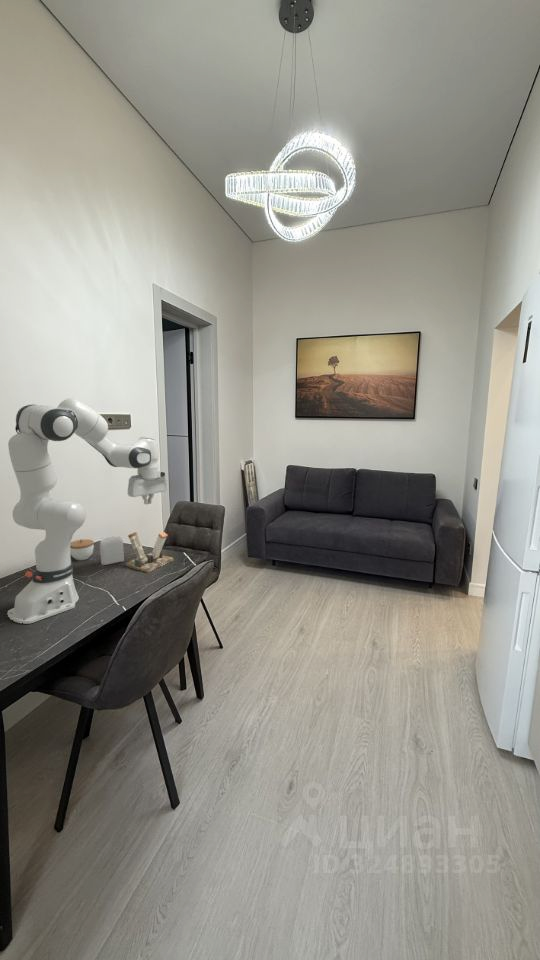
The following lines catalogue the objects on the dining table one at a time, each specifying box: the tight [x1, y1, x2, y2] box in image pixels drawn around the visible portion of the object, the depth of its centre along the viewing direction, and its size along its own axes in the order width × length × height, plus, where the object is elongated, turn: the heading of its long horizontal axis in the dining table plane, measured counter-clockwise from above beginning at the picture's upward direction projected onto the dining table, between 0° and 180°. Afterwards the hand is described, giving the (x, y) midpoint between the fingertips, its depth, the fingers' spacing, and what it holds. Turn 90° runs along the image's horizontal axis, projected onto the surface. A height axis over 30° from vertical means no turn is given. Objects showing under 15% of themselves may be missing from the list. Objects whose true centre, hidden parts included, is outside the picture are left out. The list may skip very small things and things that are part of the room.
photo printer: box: [99, 536, 125, 566], centre depth 178 cm, size 10×4×12 cm, turn 124°
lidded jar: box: [70, 538, 95, 561], centre depth 183 cm, size 11×11×9 cm
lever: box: [150, 531, 168, 559], centre depth 177 cm, size 4×3×15 cm, turn 150°
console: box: [125, 532, 174, 573], centre depth 177 cm, size 16×14×16 cm
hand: (147, 503), depth 173 cm, fingers closed
